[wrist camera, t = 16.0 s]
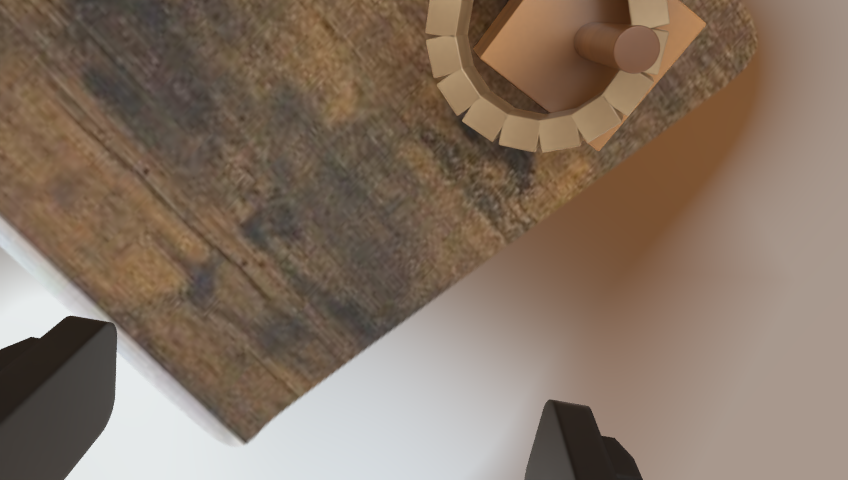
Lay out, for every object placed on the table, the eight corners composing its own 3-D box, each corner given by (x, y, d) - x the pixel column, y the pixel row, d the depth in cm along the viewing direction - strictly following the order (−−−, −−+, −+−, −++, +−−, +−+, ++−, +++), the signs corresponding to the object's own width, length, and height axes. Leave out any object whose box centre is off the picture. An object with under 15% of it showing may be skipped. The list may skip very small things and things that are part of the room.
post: (657, 21, 40) (788, 27, 25) (570, 126, 42) (642, 191, 27) (556, -65, 39) (630, -114, 23) (472, 49, 41) (490, 71, 26)
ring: (399, 6, 35) (383, 5, 33) (584, -149, 30) (579, -161, 28) (516, 182, 36) (507, 193, 34) (713, 60, 31) (717, 63, 29)
